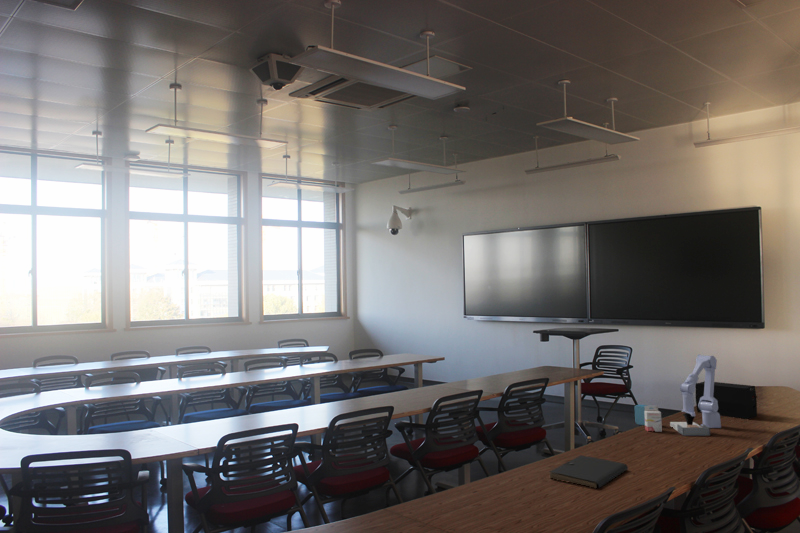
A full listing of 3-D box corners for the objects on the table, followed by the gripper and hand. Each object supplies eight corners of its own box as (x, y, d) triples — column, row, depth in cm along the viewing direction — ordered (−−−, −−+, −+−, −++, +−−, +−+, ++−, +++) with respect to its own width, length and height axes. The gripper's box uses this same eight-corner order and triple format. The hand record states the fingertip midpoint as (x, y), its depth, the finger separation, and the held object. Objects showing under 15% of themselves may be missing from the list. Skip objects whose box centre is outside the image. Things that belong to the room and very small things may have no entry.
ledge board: (693, 425, 351) (693, 421, 351) (702, 431, 337) (702, 427, 337) (670, 425, 353) (670, 421, 353) (678, 431, 339) (678, 427, 339)
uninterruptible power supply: (708, 409, 397) (706, 380, 398) (760, 416, 370) (758, 385, 371) (696, 412, 388) (694, 383, 389) (749, 420, 360) (747, 389, 361)
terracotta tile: (695, 428, 335) (695, 424, 335) (699, 430, 330) (698, 426, 331) (687, 428, 336) (686, 424, 336) (690, 430, 331) (689, 426, 331)
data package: (656, 425, 355) (655, 406, 356) (653, 426, 353) (652, 407, 353) (638, 422, 365) (637, 404, 365) (635, 423, 362) (634, 405, 362)
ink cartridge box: (647, 431, 341) (646, 407, 342) (645, 429, 346) (643, 405, 347) (662, 431, 340) (660, 407, 341) (659, 429, 345) (657, 405, 346)
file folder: (580, 454, 287) (627, 463, 270) (580, 462, 287) (627, 472, 270) (548, 470, 263) (598, 482, 246) (549, 479, 263) (599, 491, 246)
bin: (704, 431, 336) (703, 424, 336) (710, 435, 327) (709, 427, 327) (677, 431, 338) (677, 424, 338) (683, 435, 329) (682, 427, 330)
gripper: (677, 401, 347) (678, 423, 346) (685, 405, 333) (687, 428, 332) (689, 400, 346) (690, 423, 345) (698, 405, 332) (699, 428, 331)
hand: (689, 425), depth 339 cm, fingers closed
